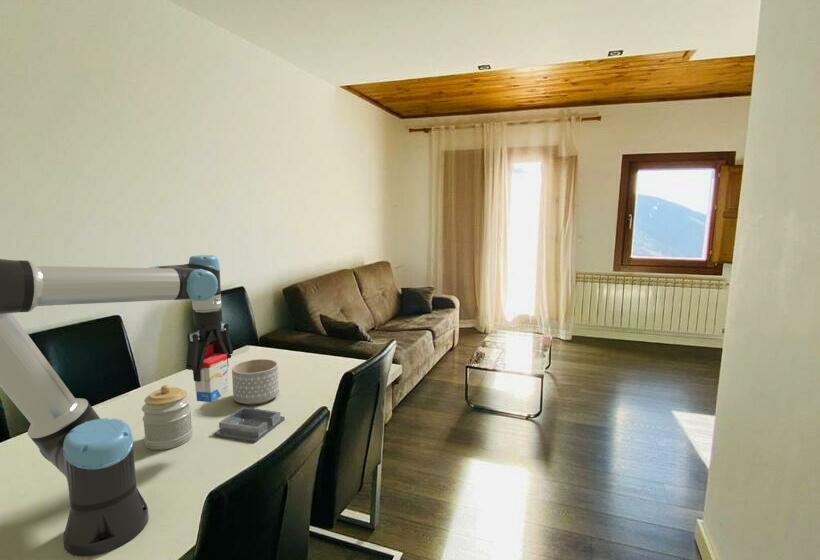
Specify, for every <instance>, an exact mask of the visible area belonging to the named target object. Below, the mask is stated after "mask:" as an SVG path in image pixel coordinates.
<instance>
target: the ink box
mask: <svg viewBox="0 0 820 560" xmlns="http://www.w3.org/2000/svg"><path fill="white" fill-rule="evenodd" d="M228 365H229V364H228ZM228 365H227V354H219V353H218V352H217V353H214V343H212V344H211V343H210V344H209V346H208V347H207V350H206V353H205V357H204V361H203V365H202V369H204V375H205V390H206V391H205V392H198V391H196V390H195V394H196V401H197V402H202V403H203V402H204V403H212V402H215V401H216V400H217V399H219V398H221V397H222V396H224V395H226V394H227V393H230V386H229V366H228ZM197 366H198V364H197Z"/></svg>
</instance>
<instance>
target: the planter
mask: <svg viewBox="0 0 820 560" xmlns="http://www.w3.org/2000/svg"><path fill="white" fill-rule="evenodd" d="M231 376H232V378H231V379H232V393H233V394H232V395H233V400H234V401H235V402H237V403H239V404H242V405H247V406H251V405H252V406H253V405H262V404H265V403H268V402H270V401H272V400H273V399H274V398H276V397H277V396H278V395H279V394H280V386H279V385H280V383H279V382H280V381H279V363H278V361H275V360H273V359H266V358H258V359H257V358H256V359H249V360H244V361H241V362H238V363H236V364H234V365H233V366H232V367H231Z"/></svg>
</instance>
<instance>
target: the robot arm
mask: <svg viewBox="0 0 820 560" xmlns="http://www.w3.org/2000/svg"><path fill="white" fill-rule="evenodd" d="M220 268H221V267H220V262H219V258H218V256H216V255H212V254H201V255H199V254H198V255H191V256H190V257H189V259H188V263H186V264H175V265H174V264H173V265H162V266H161V265H160V266H159V265H156V266H151V267H114V266H111V267H107V266H106V267H104V266H103V267H102V266H101V267H99V266H98V267H97V266H49V265H48V266H46V265H43V266H39V265H38V266H37V265H35V264H34V263H33V262H32V261H30V260H18V259H17V260H14V259H5V258H0V388H1V389H2V390H3V392H4V393H5V395H7V397H8V398H9V399H10V400H11V402H12V403H13V404H14V405H15V406H16V408H17V409H18V410H19V411H20V412H21V414H22V415H23V416H24V417H25V418H26V420H27V421H28V422H29V423H30V425H29V427H28V430H27V436H28V437H29V438H30V440H31V441H32V442H33V443H34V444H35V445H36V446H37V448H38V449H39V452H40V454H41V455H42V457H43V458H44V459H46V460H47V461H48V462H50V463H51V464H52V465H54V467H55V468H57V470H58V471H59V472H61V473H62V475H63V476H64V477H66V481H67V487H68V495H69V496H68V497H69V504H70V510H69V514H68V517H67V521H66V526H65V528H64V532H63V535H62V540H63V541H62V542H63V547H64V550H65V552H66V551H67V552H66V553H68V554H69V553H70V554H69V555H71V554H72V555H73V556H75V555H77V556H76V557H88V556H89V557H90V556H96V555H100V554H103V553H107V552H109V551H112V550H115V549H117V548H119V547H121V546H123V545H125V544H126V543H128V542H130V541H131V540H132V539H134V538H135V537H136V536H138V535H139V534H140V533H141V532H142V531H143V530H144V529H145V527H146V526H147V524H148V521H149V517H150V516H149V507H148V505H147V502H146V501H145V499H144V497H143V496H142V494H141V492H140V491H139V489H138V488H137V479H136V478H137V477H136V476H137V475H136V468H135V467H136V465H135V455H134V454H135V453H134V437H133V434H132V430H131V427H130V425H129V424H128V423H127V422H126V421H124V420H122V419H118V418H112V419H110V418H108V417H106V418H100V416H99V415H98V414H97V412H96V410H95V409H94V408H93V407H92V405H91V404H90V403H89V401H88V400H87V399H86V398H82V397H81V398H80V397H79V398H77V397H75V396H74V395H73V393H72V392H71V391H70V389H69V388H68V387H67V386H66V384H65V383H64V381H63V380H62V379H61V377H60V376H59V375H58V373H57V372H56V370H55V369H54V367H53V366H52V365H51V364H50V362H49V361H48V360H47V358H46V357H45V355H44V354H43V353H42V351H41V350H40V349H39V348H38V346H37V345H36V343H35V342H34V341H33V339H32V338H31V337H30V335H29V334H28V333H27V331H26V329H25V328H24V327H23V326H22V325H21V323H20V322H19V321H18V319H17V318H16V317H15V315H14V313H15V314H17V313H30V312H32V311H33V310H34V309H36V308H37V307H45V306H46V307H48V306H65V305H66V306H67V305H68V306H69V305H86V304H87V305H91V304H110V303H111V304H112V303H113V304H114V303H129V302H136V303H137V302H154V301H155V302H156V301H171V300H172V301H179V300H180V301H181V300H183V301H184V300H191V302H192V310H194V311H193V312H192V317H193V318H192V319H193V324H194V325H195V327H196V330H195V332H193V333H188V334H187V343H188V344H187V352H186V353H187V354H186V366H185V368H186V370H189V371H192V374H193V381H194V385H195V392H196V391H198V392H205V391H206V390H205V375H204V369H202V365H203V361H204V357H205V353H206V352H207V347H208V346H209V345H211V343H212V342H213V343H212V344H213V346H214V347H215V349H216V351H217V354H227V365H228V367H229V359H231V358H232V354H233V353H234V349H233V345H232V341H231V336H230V332H229V328H230V326H229V325H230V324H229V323H222V322H223V320H224V318H223V309H221V308H222V293H221V291H222V289H221V288H222V287H221V269H220ZM197 364H198V366H197ZM72 555H71V556H72Z"/></svg>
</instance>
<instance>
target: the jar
mask: <svg viewBox="0 0 820 560" xmlns="http://www.w3.org/2000/svg"><path fill="white" fill-rule="evenodd" d="M187 395H188V392H187V390H185V389H182V388H179V387H175V386H174V387H171V386H170V385H169V384H165V385H162V386H161V387H160V389H156V390H154V391H153V392H151V393H150V394H148V396H146V397H145V399H144V400H143V401H144V404H143V405H142V406H141V411H142V412H143V413H144V414H143V415H144V416H143V417H142V421H143V429H144V430H143V431H144V437H143V438H144V443H145V447H146V448H148V449H150V450H153V451H155V450H156V451H160V450H162V451H163V450H169V449H174V448H177V447H179V446H181V445H183V444H185V443H186V442H188V441H190V439H191V438H192V437H193V432H194V431H193V430H194V429H193V425H192V408H191V406H190V402H191V398H190V397H189V396H187Z"/></svg>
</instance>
